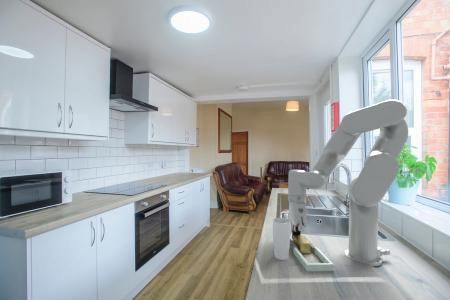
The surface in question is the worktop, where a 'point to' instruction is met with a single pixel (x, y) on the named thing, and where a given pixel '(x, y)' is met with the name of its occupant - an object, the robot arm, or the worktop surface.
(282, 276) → the worktop surface
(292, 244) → the slot board
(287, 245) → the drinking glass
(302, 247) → the tan cube
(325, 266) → the tray
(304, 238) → the gold cube
